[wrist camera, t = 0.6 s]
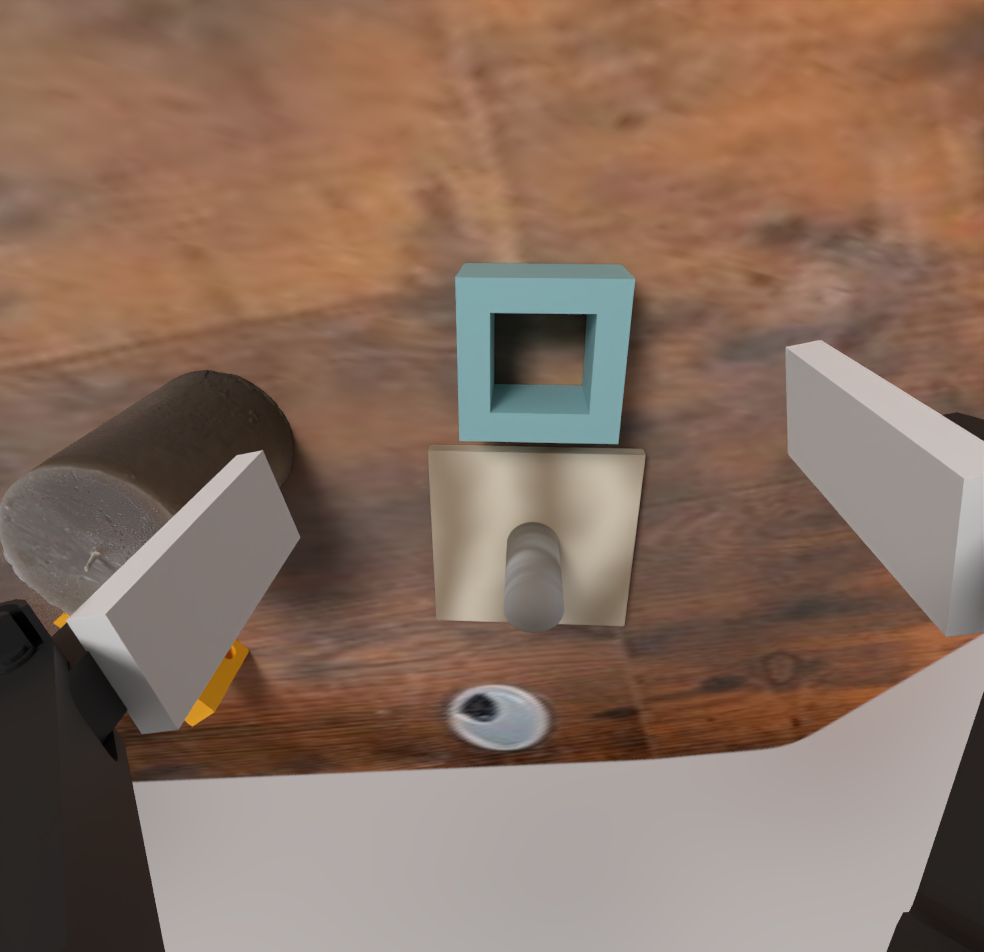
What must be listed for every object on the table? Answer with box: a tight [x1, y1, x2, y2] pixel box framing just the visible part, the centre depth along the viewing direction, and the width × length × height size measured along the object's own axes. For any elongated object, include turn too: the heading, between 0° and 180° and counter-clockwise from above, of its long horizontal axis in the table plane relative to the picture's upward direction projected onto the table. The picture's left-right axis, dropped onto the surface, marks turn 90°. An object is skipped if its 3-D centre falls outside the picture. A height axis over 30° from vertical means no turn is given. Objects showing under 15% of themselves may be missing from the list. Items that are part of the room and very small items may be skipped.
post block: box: [428, 444, 646, 633], centre depth 40 cm, size 14×14×8 cm
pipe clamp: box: [53, 612, 249, 726], centre depth 46 cm, size 12×4×6 cm, turn 38°
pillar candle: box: [0, 370, 294, 616], centre depth 35 cm, size 10×10×15 cm
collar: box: [455, 263, 635, 444], centre depth 35 cm, size 9×9×5 cm
